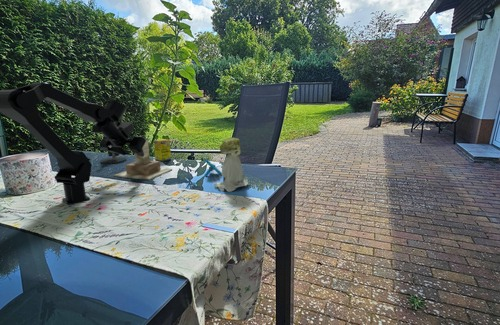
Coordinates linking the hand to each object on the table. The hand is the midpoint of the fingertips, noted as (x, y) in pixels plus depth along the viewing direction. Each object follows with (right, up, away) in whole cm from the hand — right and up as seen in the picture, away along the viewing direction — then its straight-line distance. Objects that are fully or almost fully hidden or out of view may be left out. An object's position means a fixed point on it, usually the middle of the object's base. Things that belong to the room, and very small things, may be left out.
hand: (134, 155), depth 117 cm
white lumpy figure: (+41, -12, -11) cm, 45 cm away
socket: (+2, -8, +7) cm, 10 cm away
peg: (+2, -7, +7) cm, 10 cm away
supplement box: (+3, -2, +31) cm, 31 cm away
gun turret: (-22, -3, +26) cm, 35 cm away
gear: (+33, -9, +3) cm, 34 cm away
